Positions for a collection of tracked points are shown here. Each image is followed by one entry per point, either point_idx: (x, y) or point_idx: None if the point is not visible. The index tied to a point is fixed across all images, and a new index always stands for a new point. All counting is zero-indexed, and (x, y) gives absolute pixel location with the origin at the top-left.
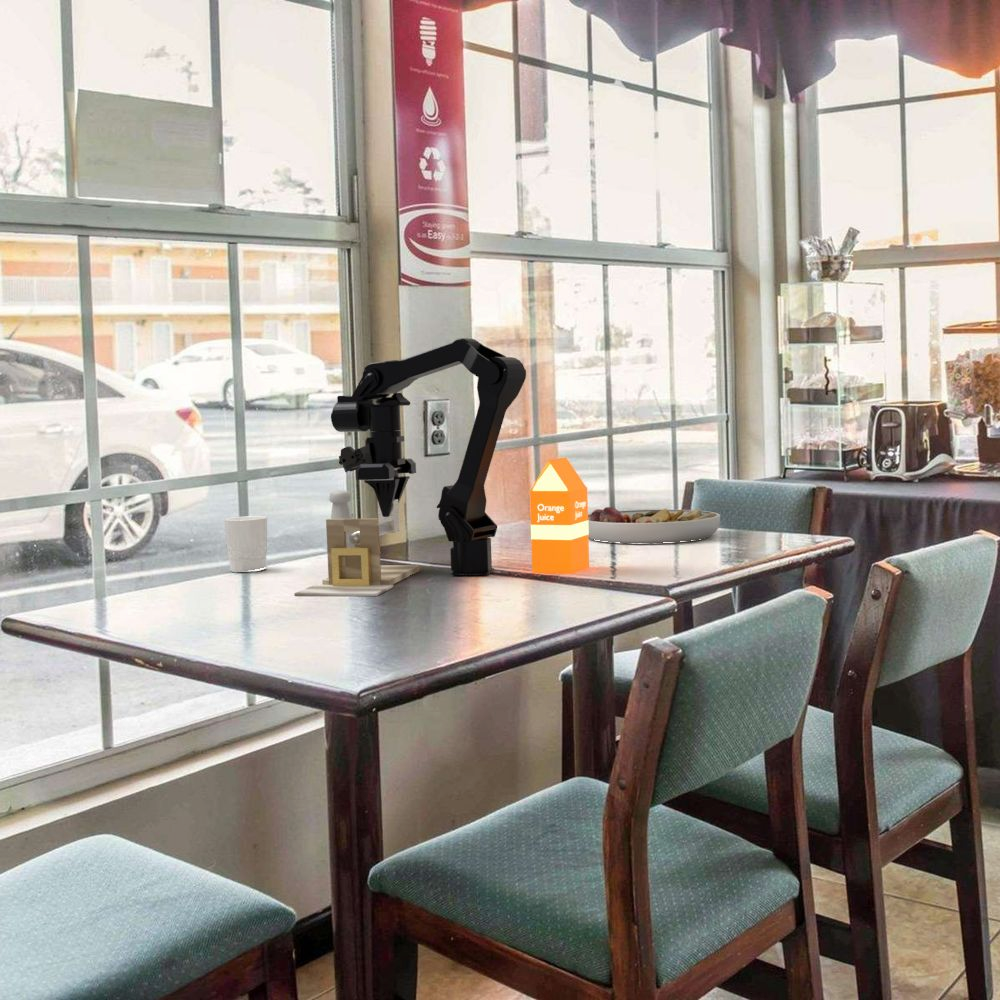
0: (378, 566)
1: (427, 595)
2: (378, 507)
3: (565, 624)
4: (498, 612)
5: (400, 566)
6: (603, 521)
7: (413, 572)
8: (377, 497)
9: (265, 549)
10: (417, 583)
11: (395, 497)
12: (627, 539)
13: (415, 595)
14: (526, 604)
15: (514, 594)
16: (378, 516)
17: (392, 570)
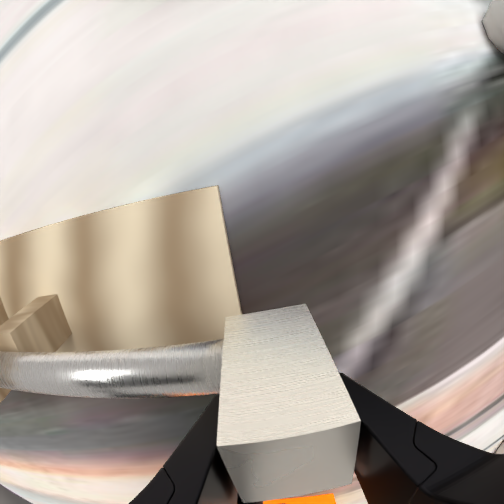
0: None
1: (28, 432)
2: (219, 410)
3: (25, 497)
4: (20, 476)
5: (221, 336)
6: None
7: None
8: (155, 481)
9: None
10: (88, 409)
11: (366, 478)
12: (499, 451)
13: (19, 420)
14: (56, 495)
15: (89, 495)
16: (222, 367)
17: (143, 346)
